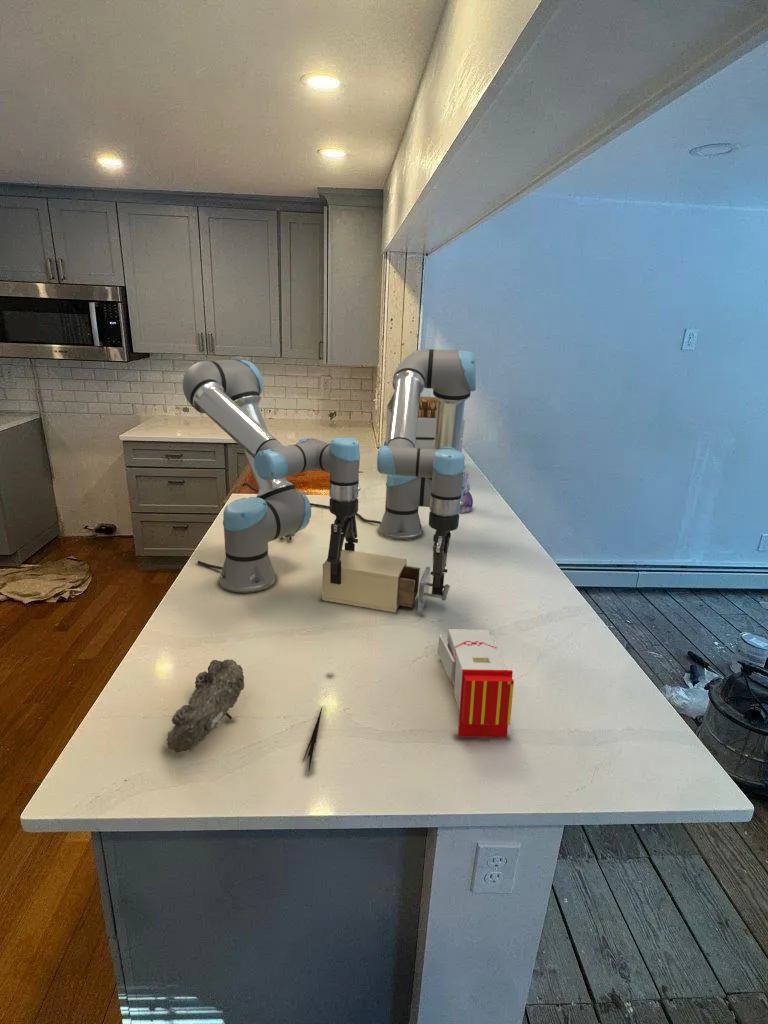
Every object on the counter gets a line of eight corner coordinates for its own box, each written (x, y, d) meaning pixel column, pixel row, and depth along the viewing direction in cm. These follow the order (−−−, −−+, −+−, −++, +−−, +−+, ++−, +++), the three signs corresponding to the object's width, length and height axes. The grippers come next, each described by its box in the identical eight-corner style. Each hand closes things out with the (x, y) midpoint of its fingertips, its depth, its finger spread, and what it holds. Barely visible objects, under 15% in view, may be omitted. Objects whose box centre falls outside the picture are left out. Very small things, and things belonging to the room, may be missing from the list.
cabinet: (404, 593, 159) (407, 558, 155) (395, 612, 148) (397, 576, 145) (335, 581, 163) (336, 548, 159) (322, 600, 152) (322, 564, 149)
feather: (331, 679, 122) (336, 673, 122) (307, 777, 96) (313, 769, 95) (324, 675, 122) (329, 669, 121) (298, 772, 95) (304, 764, 95)
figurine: (459, 514, 221) (463, 477, 216) (445, 506, 229) (448, 470, 224) (479, 511, 225) (483, 475, 220) (464, 503, 234) (467, 468, 228)
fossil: (192, 660, 117) (244, 628, 112) (224, 691, 120) (276, 661, 115) (142, 746, 98) (202, 712, 93) (182, 779, 101) (242, 748, 96)
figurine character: (295, 547, 188) (300, 526, 202) (294, 527, 185) (300, 506, 198) (274, 546, 188) (281, 525, 201) (273, 526, 185) (280, 506, 198)
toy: (488, 613, 130) (523, 677, 101) (484, 667, 133) (517, 744, 104) (435, 612, 130) (455, 676, 101) (432, 666, 133) (451, 743, 103)
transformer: (382, 463, 289) (386, 382, 275) (445, 464, 293) (451, 384, 279) (390, 482, 257) (394, 392, 243) (460, 483, 261) (468, 394, 247)
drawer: (449, 598, 155) (452, 570, 152) (443, 616, 146) (446, 586, 143) (362, 584, 160) (363, 556, 157) (351, 600, 151) (352, 571, 148)
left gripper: (343, 514, 136) (342, 595, 143) (370, 486, 157) (367, 558, 165) (314, 510, 137) (314, 590, 145) (344, 483, 159) (343, 554, 166)
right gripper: (455, 522, 135) (447, 609, 143) (462, 506, 147) (454, 587, 155) (424, 518, 137) (418, 605, 145) (434, 502, 149) (427, 582, 157)
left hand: (342, 573), depth 155 cm, fingers closed on cabinet, 11 cm apart
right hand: (436, 595), depth 150 cm, fingers closed
